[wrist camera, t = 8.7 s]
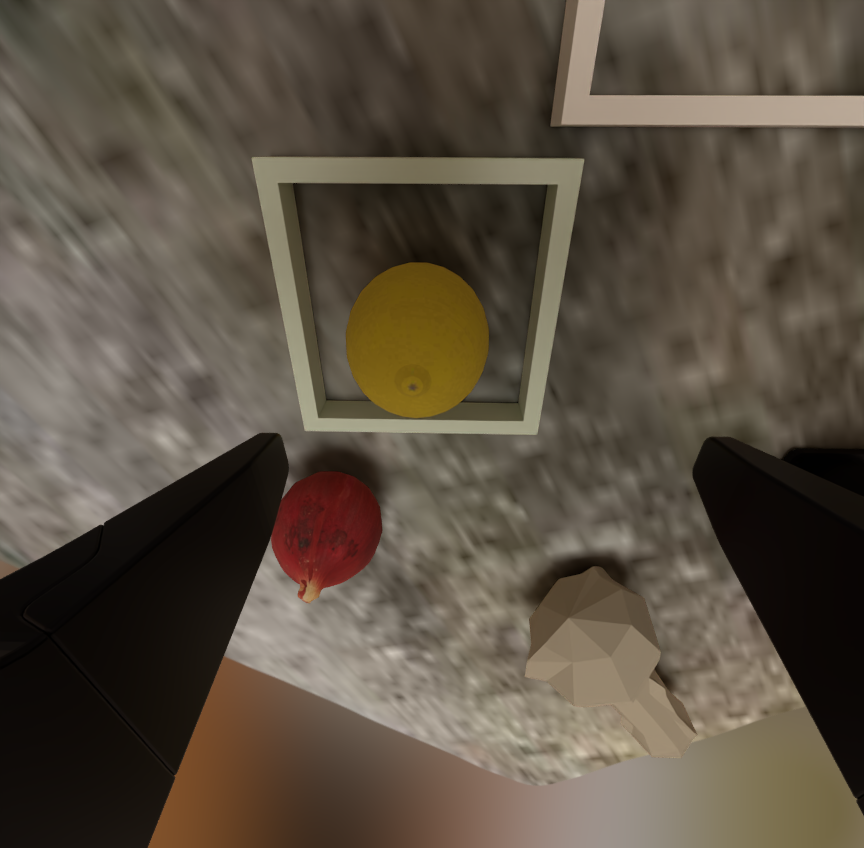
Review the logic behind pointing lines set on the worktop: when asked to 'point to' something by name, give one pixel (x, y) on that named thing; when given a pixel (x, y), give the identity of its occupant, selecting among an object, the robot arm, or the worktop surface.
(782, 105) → the bin
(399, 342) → the lemon
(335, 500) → the onion
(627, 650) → the faceted club
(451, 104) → the worktop surface
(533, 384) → the bin
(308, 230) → the worktop surface
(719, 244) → the worktop surface
